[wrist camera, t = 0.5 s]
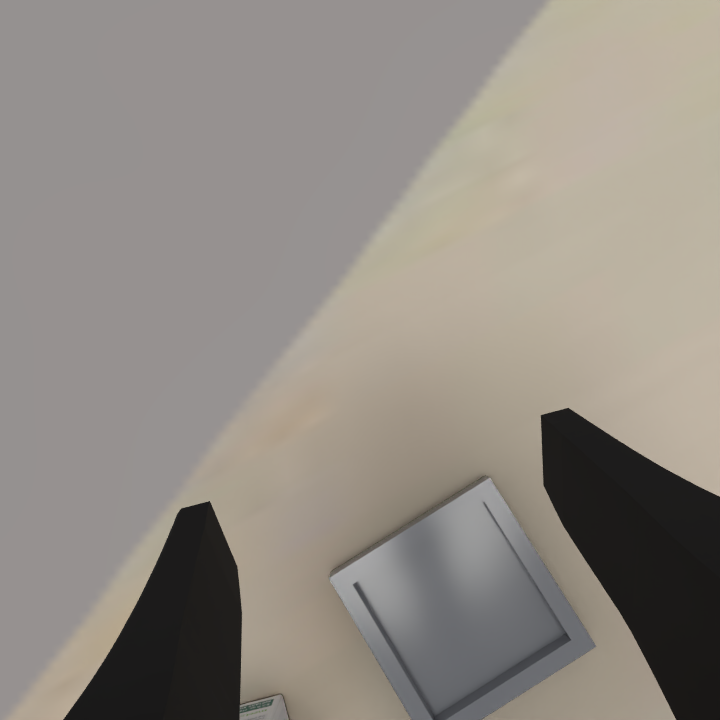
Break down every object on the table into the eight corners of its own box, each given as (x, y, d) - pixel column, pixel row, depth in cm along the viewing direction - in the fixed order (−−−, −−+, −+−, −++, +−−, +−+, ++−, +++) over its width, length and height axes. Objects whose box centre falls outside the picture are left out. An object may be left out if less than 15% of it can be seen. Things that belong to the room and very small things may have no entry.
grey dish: (586, 636, 39) (596, 646, 37) (428, 737, 39) (430, 751, 37) (485, 475, 40) (489, 477, 38) (331, 571, 40) (328, 578, 38)
